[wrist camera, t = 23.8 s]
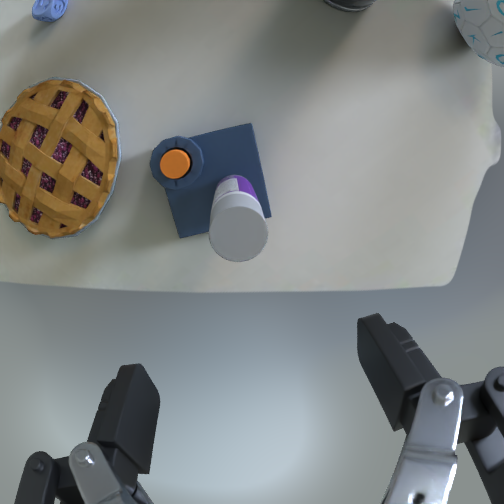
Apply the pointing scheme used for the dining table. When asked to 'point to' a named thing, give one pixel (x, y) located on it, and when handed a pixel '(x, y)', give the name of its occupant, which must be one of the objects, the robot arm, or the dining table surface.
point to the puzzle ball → (482, 27)
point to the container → (237, 220)
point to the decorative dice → (48, 9)
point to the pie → (58, 157)
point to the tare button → (174, 164)
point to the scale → (209, 174)
